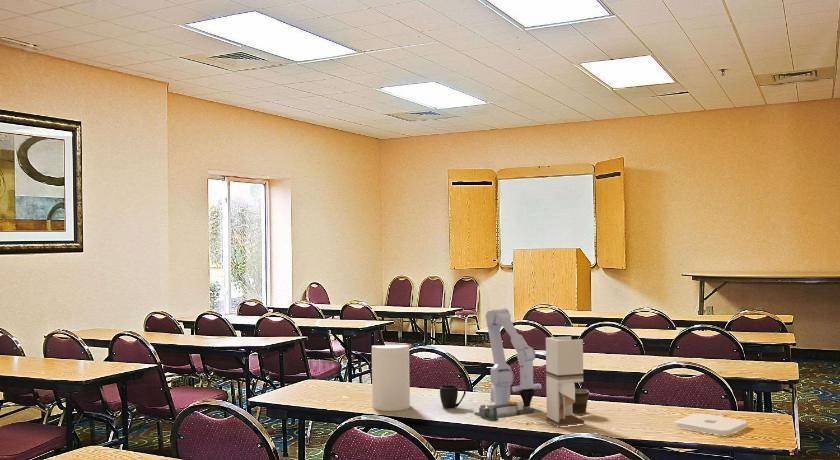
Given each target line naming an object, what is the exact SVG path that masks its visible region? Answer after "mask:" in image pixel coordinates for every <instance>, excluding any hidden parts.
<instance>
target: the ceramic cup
mask: <svg viewBox="0 0 840 460" xmlns="http://www.w3.org/2000/svg"><path fill="white" fill-rule="evenodd" d="M589 396H590V390H588V389H585V388H575V403H573V404H572V411H573V414H575V415H583V414H586V412H587V406H588V400H589Z"/></svg>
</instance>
